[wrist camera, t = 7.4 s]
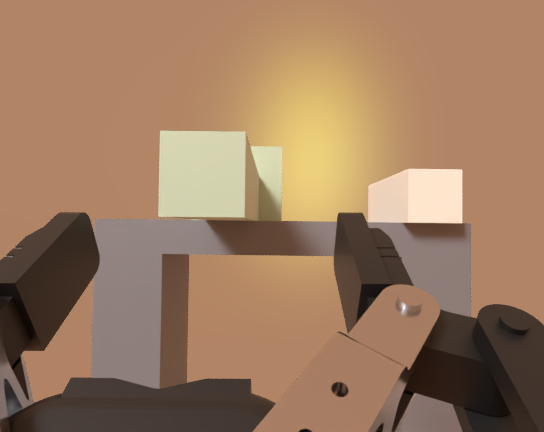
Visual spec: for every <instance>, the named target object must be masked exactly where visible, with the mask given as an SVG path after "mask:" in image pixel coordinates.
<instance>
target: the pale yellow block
mask: <svg viewBox="0 0 544 432" xmlns="http://www.w3.org/2000/svg"><path fill="white" fill-rule="evenodd" d="M159 166H160V167H159V213H158V214H159V215H158V216H160V217H171V218H184V219H191V220H229V221H281V207H282V204H281V203H282V147H252V146H250V144H249V141H248V138H247V134H246V132H216V131H210V132H209V131H160V165H159Z"/></svg>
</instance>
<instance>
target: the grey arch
mask: <svg viewBox="0 0 544 432" xmlns="http://www.w3.org/2000/svg"><path fill="white" fill-rule="evenodd" d="M367 225H368V227H369V228H380V229H381V230H382V231H383V232H385V233H386V234H387V235H388V236H390V238H391V240H392V242H393V244H394V246H395V249H396V250H397V252H398V254H399V258H401V260H402V262H403V264H404V266H405V268H406V270H407V273H408V275H409V277H410V279H411V281H412V283H413V285H414V287H417V288H420V289H422V290H424V291H426V292H428V293H429V294H430V295H432V296H433V297H434V298H435V299H436V301H437V302H438V304H439V306H440V309H441V310H444V311H447V312H451V313H455V314H460V315H464V316H468V317H471V224H467V223H465V224H463V223H388V222H367ZM336 227H337V222H308V221H305V222H303V221H229V220H148V219H95V235H94V236H95V239H96V243H97V247H98V250H99V255H100V263H99V268H98V270H97V272H96V274H95V275H94V277H93V317H92V321H93V322H92V357H91V358H92V359H91V360H92V361H91V378H117V379H121V380H125V381H128V382H132V383H136V384H140V385H143V386H147V387H151V388H155V389H160V388H166V387H170V386H175V385H180V384H184V383H187V337H188V336H187V335H188V334H187V333H188V282H189V279H188V277H189V254H212V255H214V254H215V255H218V254H219V255H288V256H289V255H290V256H334V248H335V238H336ZM398 432H463V431H462V429H461V426H460V423H459V421H458V418H457V415H456V412H455V410H454V407H453V404H450V403H446V402H443V401H440V400H436V399H433V398H430V397H426V396H423V395H420V394H416V396H415V398H414V400H413V402H412V404H411V406H410V408H409V410H408V412H407V414H406V416H405V418H404V420H403V422H402V424H401V426H400V428H399V430H398Z"/></svg>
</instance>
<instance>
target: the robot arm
mask: <svg viewBox="0 0 544 432" xmlns="http://www.w3.org/2000/svg"><path fill="white" fill-rule="evenodd" d="M99 263H100V255H99V250H98V247H97V243H96V239H95V236H94V232H93V228H92V225H91V221H90V218H89V216H88V215H87V214H86V213H74V212H71V213H68V212H63V213H62V212H61V213H58V214H57V215H56V216H55V217H54V218H53V219H52V220H51V221H50V222H48V224H46V225H45V226H44V227H43V228H41V229H39V230H37V231H35V232H34V233H32V234H30V235H28V236H26V237H25V238H24V239H23V240H22V241H21V242H20V243H19V244H18V245H17V246H16V248H15V249H12V250H11V251H10V252H9V253H8V254H7V257H4V258H3V259H2V260H0V432H398V430H399V428H400V426H401V424H402V422H403V420H404V418H405V416H406V414H407V412H408V410H409V408H410V406H411V404H412V402H413V400H414V398H415V396H416V394H420V395H423V396H426V397H430V398H433V399H436V400H440V401H443V402H446V403H450V404H453V407H454V410H455V412H456V415H457V418H458V421H459V423H460V426H461V429H462V431H463V432H544V325H543V324H542V323H541V322H540V321H538V320H537V319H536V318H535V317H533V316H532V315H530V314H528V313H527V312H525V311H522V310H520V309H517V308H515V307H511V306H507V305H500V304H493V305H488V306H485V307H483V308H482V309H481V310H480V311H479V313H478V316H477V318H472V317H468V316H464V315H460V314H455V313H451V312H447V311H444V310H441V309H440V306H439V304H438V302H437V301H436V299H435V298H434V297H433V296H432V295H430V294H429V293H428V292H426V291H424V290H422V289H420V288H417V287H414V285H413V283H412V281H411V279H410V277H409V275H408V273H407V270H406V268H405V266H404V264H403V262H402V260H401V258H399V254H398V252H397V250H396V249H395V246H394V244H393V242H392V240H391V238H390V236H388V235H387V234H386V233H385V232H383V231H382V230H381V229H380V228H369V227H368V225H367V222H366V220H365V217H364V215H363V213H339V214H338V217H337V227H336V238H335V248H334V271H335V276H336V281H337V285H338V290H339V295H340V299H341V304H342V309H343V313H344V317H345V323H346V327H347V332H348V335H346V334H344V333H342V332H337V333H335V334H334V335H333V336H332V337H331V338H330V339H329V341H328V342H327V343H326V344H325V346H324V347H323V348H322V349H321V350H320V351H319V353H318V354H317V355H316V356H315V357H314V359H313V360H312V361H311V362H310V364H309V365H308V366H307V367H306V368H305V369H304V371H303V372H302V373H301V374H300V375H299V377H298V378H297V379H296V380H295V381H294V383H293V384H292V385H291V386H290V387H289V389H288V390H287V391H286V392H285V393H284V395H283V396H282V397H281V398H280V399H279V401H278V402H277V403H274V402H272V401H270V400H268V399H266V398H263V397H261V396H258V395H254V394H252V392H251V379H203V380H198V381H194V382H189V383H184V384H180V385H175V386H170V387H166V388H160V389H155V388H151V387H147V386H143V385H140V384H136V383H132V382H128V381H125V380H121V379H117V378H71V379H70V381H69V383H68V384H67V386H66V388H65V390H64V392H63V393H62V394H58V395H54V396H51V397H48V398H45V399H43V400H40V401H38V402H35V403H34V402H33V397H32V392H31V387H30V382H29V377H28V373H27V368H26V364H25V361H24V359H23V357H22V355H21V354H22V352H23V351H44V350H45V348H46V347H47V345H48V344H49V342H50V341H51V339H52V338H53V336H54V335H55V333H56V332H57V330H58V329H59V327H60V326H61V325H62V323H63V322H64V320H65V319H66V317H67V316H68V314H69V312H70V311H71V310H72V308H73V307H74V305H75V304H76V302H77V301H78V299H79V298H80V296H81V295H82V293H83V292H84V290H85V289H86V287H87V286H88V284H89V283H90V281H91V280H92V278H93V277H94V275H95V274H96V272H97V270H98V268H99Z"/></svg>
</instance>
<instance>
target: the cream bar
mask: <svg viewBox="0 0 544 432" xmlns="http://www.w3.org/2000/svg"><path fill="white" fill-rule="evenodd" d="M368 190H369V191H368V222H388V223H462V170H458V169H457V170H456V169H452V170H451V169H407V170H405V171H402V172H400V173H398V174H395V175H393V176H390V177H388V178H386V179H383V180H381V181H379V182H377V183H374V184H372V185H369V186H368Z"/></svg>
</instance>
